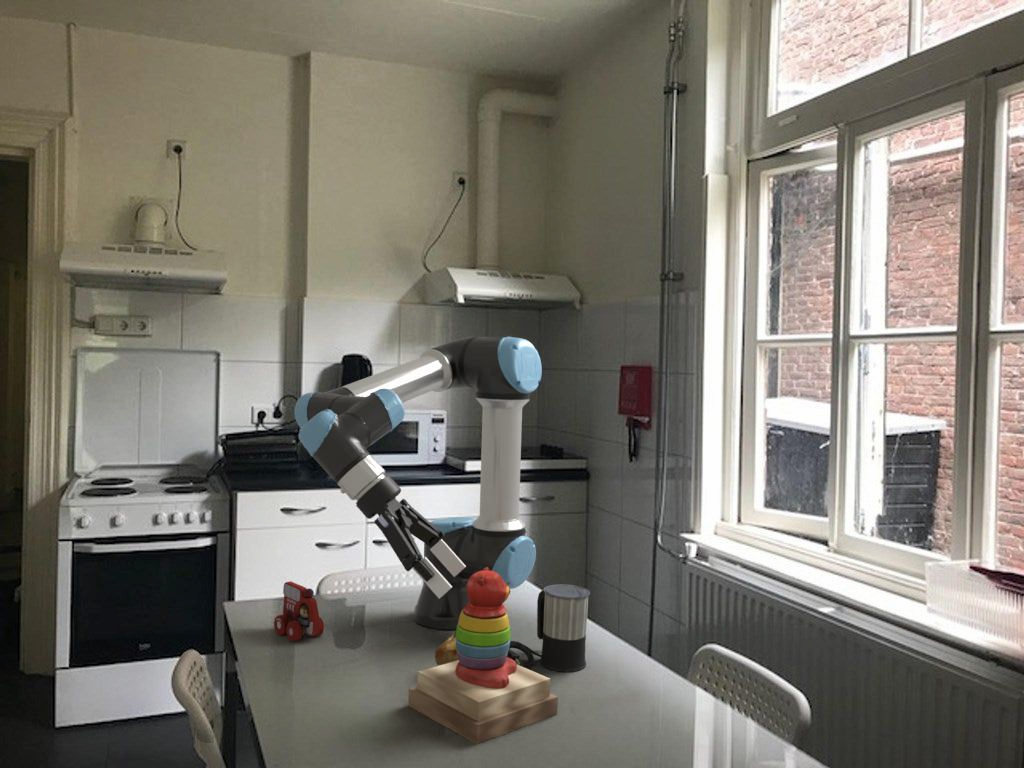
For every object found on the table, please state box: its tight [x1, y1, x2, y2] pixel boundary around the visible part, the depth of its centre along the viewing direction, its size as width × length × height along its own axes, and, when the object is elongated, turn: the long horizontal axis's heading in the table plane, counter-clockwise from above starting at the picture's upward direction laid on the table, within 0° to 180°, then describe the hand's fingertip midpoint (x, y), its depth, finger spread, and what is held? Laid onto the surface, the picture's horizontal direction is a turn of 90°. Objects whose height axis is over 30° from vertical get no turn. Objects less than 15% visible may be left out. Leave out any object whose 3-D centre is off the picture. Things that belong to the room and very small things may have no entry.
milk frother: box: [507, 583, 591, 672], centre depth 164 cm, size 14×16×15 cm
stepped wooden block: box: [407, 660, 559, 745], centre depth 141 cm, size 18×18×6 cm
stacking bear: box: [455, 567, 517, 688], centre depth 141 cm, size 11×10×18 cm
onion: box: [434, 631, 459, 666], centre depth 158 cm, size 8×8×8 cm
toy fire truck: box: [273, 580, 325, 643], centre depth 175 cm, size 7×12×10 cm, turn 45°
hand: (453, 581), depth 141 cm, fingers open, 13 cm apart
